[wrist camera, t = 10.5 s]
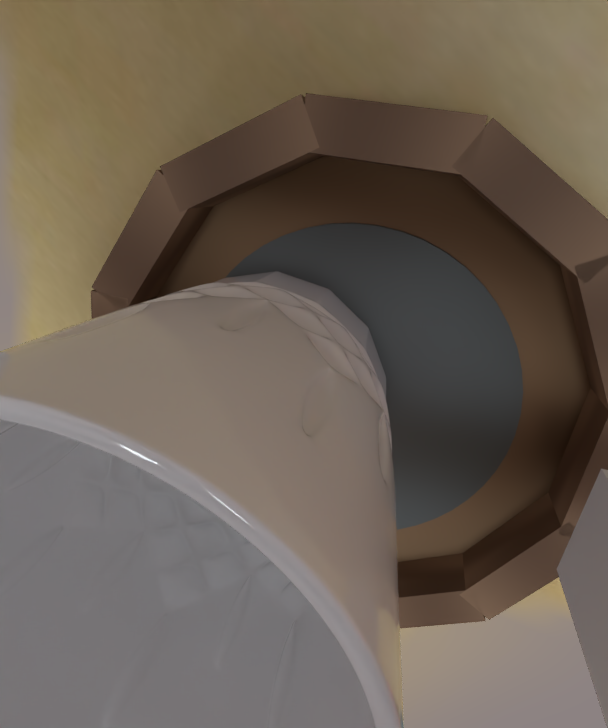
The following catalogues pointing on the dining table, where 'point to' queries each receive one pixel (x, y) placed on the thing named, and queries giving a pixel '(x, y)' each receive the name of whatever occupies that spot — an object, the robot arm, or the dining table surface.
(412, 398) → the tray
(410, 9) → the dining table surface
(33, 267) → the dining table surface
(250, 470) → the white cup
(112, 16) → the dining table surface
